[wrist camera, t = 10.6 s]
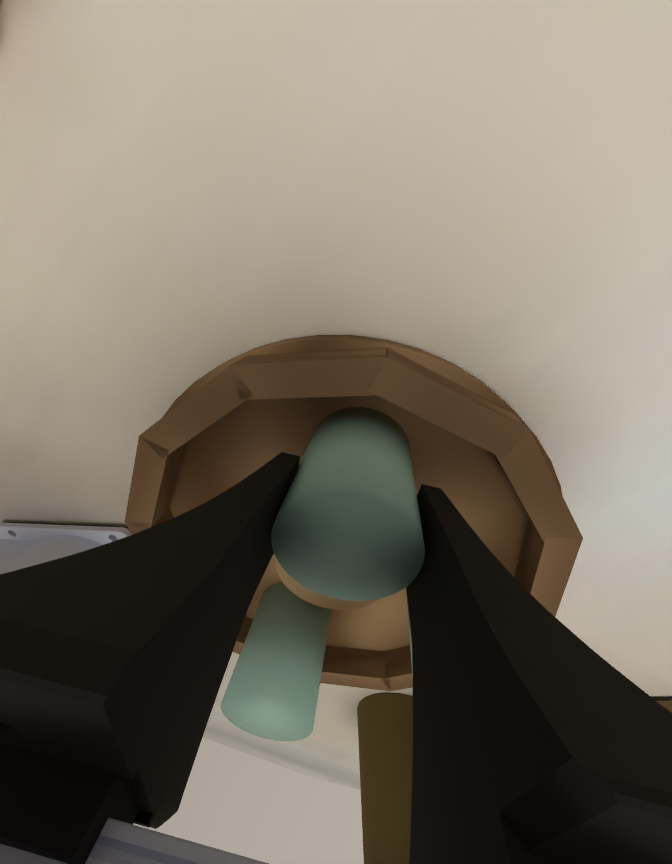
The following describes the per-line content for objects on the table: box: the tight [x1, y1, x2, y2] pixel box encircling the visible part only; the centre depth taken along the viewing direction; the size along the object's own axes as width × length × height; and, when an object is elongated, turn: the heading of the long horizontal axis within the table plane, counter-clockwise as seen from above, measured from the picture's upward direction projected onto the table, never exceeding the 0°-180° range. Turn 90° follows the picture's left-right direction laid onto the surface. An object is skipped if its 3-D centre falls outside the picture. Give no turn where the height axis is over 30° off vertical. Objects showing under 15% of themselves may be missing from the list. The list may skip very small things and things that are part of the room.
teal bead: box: [271, 407, 425, 601], centre depth 10 cm, size 4×4×5 cm
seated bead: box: [221, 582, 331, 741], centre depth 15 cm, size 4×4×5 cm
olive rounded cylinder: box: [357, 693, 413, 864], centre depth 18 cm, size 6×6×11 cm
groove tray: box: [125, 335, 583, 691], centre depth 15 cm, size 20×20×2 cm
